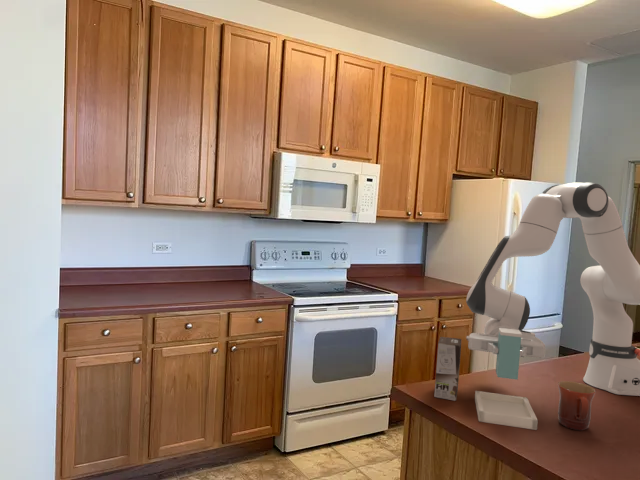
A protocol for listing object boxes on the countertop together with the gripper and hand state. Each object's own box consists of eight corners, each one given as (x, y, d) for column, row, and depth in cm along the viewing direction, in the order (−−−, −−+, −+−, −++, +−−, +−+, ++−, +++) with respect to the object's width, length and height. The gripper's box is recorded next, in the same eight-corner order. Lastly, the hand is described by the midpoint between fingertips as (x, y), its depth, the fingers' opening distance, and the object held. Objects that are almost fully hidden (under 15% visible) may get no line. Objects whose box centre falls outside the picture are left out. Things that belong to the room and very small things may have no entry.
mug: (550, 416, 132) (553, 379, 131) (585, 421, 130) (589, 383, 130) (563, 436, 120) (567, 395, 120) (602, 441, 118) (606, 400, 118)
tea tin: (515, 373, 134) (518, 329, 133) (518, 379, 128) (521, 334, 128) (495, 371, 135) (498, 327, 134) (497, 377, 130) (500, 332, 129)
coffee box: (456, 401, 139) (460, 345, 138) (433, 397, 141) (437, 342, 140) (458, 390, 148) (462, 338, 147) (436, 387, 150) (440, 335, 149)
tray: (526, 406, 138) (527, 397, 138) (536, 430, 123) (537, 420, 123) (474, 399, 142) (475, 390, 141) (478, 421, 126) (479, 411, 126)
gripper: (466, 325, 146) (469, 336, 133) (540, 333, 141) (550, 345, 128) (465, 346, 146) (467, 359, 133) (538, 354, 142) (548, 369, 128)
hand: (508, 352), depth 130 cm, fingers closed on tea tin, 5 cm apart
